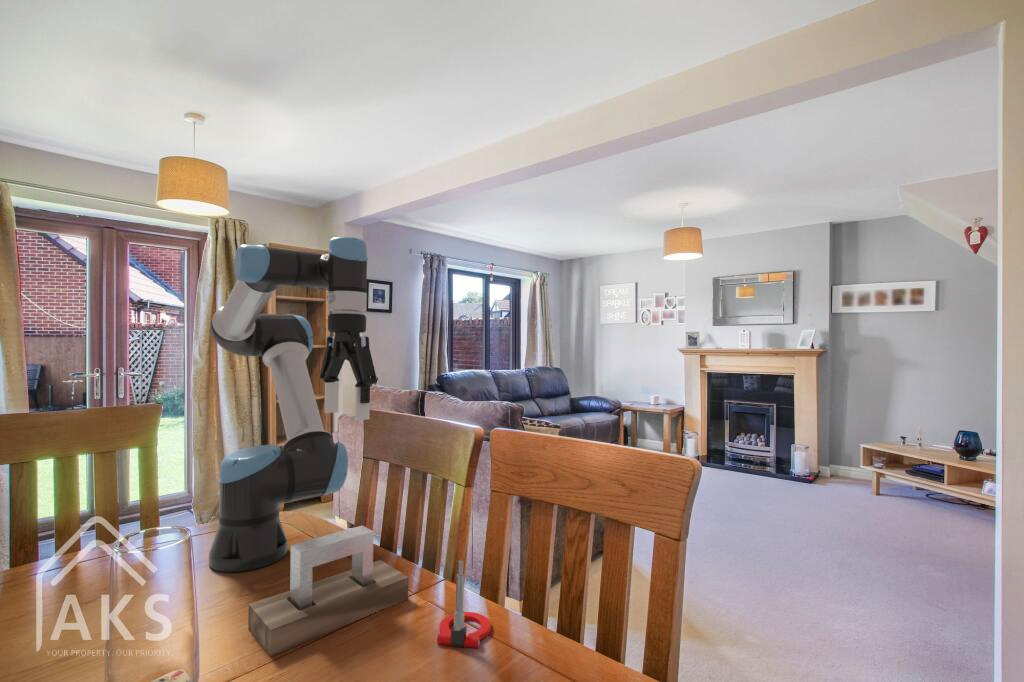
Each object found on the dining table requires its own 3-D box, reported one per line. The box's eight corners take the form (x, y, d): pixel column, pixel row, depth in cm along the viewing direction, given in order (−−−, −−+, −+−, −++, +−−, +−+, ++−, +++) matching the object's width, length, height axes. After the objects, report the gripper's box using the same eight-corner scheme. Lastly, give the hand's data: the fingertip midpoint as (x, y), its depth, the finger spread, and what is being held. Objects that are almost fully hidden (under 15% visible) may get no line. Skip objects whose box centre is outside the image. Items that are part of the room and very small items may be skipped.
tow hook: (447, 616, 86) (430, 645, 77) (449, 540, 86) (433, 560, 77) (494, 621, 84) (483, 651, 75) (496, 544, 85) (485, 565, 76)
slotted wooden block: (248, 628, 81) (248, 604, 81) (380, 580, 98) (380, 559, 98) (270, 656, 73) (270, 629, 73) (408, 598, 90) (408, 577, 90)
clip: (289, 623, 82) (290, 545, 82) (361, 595, 92) (362, 525, 92) (299, 633, 79) (300, 552, 80) (372, 603, 89) (373, 531, 89)
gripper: (304, 314, 108) (303, 411, 108) (360, 309, 91) (358, 425, 90) (337, 316, 114) (336, 408, 113) (395, 312, 96) (394, 421, 96)
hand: (346, 416), depth 102 cm, fingers open, 13 cm apart
